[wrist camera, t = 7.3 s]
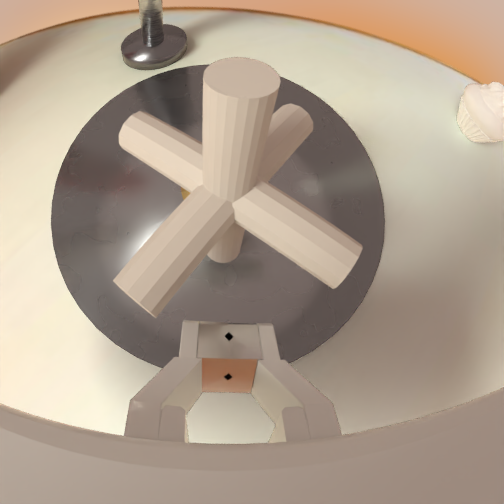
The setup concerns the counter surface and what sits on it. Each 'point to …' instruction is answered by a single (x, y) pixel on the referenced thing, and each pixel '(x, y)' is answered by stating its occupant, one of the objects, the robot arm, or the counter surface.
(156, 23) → the ball knob lever
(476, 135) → the muffin
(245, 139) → the pipe connector
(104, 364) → the counter surface
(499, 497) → the robot arm
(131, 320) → the turntable
